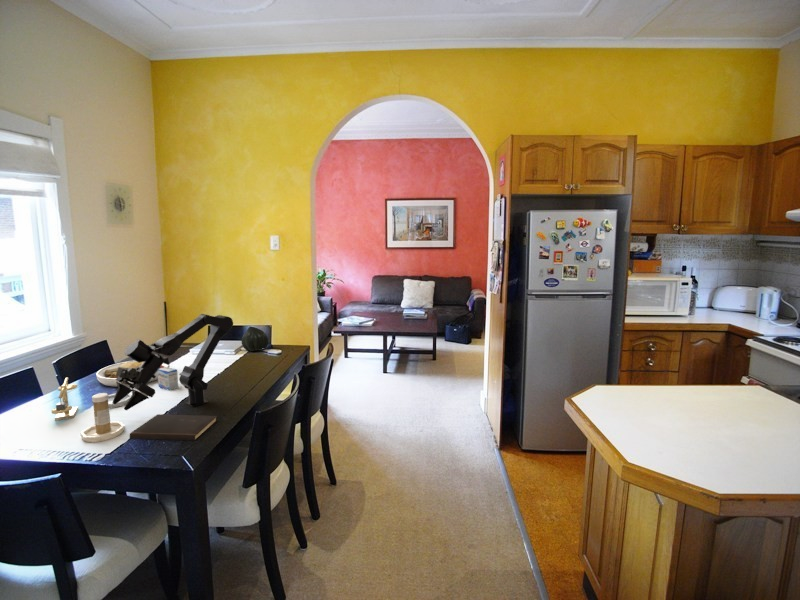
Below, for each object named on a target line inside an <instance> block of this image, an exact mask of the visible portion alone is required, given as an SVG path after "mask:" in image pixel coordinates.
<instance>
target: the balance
mask: <svg viewBox="0 0 800 600" xmlns="http://www.w3.org/2000/svg"><path fill="white" fill-rule="evenodd" d="M68 380H69V377H65V379H64V381H63V383H62V385H60V386H59V387H58V388H57V389H58V391H59V395H58V399H59V401H58V402H57V403H56V404H55V408H53V409H51V414H52V415H53V414H54V415H55V417H54V421H55V422H56V421H62V420H63V419H64V420H69V418H70V419H74V418H75V416H76V414H77V413H78V411H79V406H71V405H69V397H68V391H71V390H75V389H77V388H78V384H76V383H70V384H69V381H68ZM76 412H77V413H76Z"/></svg>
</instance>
